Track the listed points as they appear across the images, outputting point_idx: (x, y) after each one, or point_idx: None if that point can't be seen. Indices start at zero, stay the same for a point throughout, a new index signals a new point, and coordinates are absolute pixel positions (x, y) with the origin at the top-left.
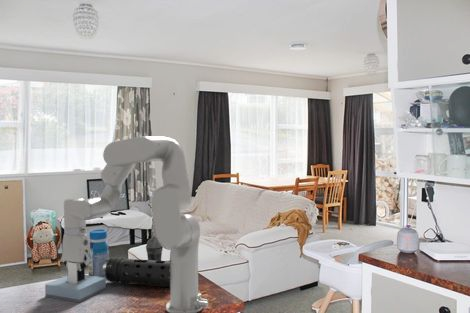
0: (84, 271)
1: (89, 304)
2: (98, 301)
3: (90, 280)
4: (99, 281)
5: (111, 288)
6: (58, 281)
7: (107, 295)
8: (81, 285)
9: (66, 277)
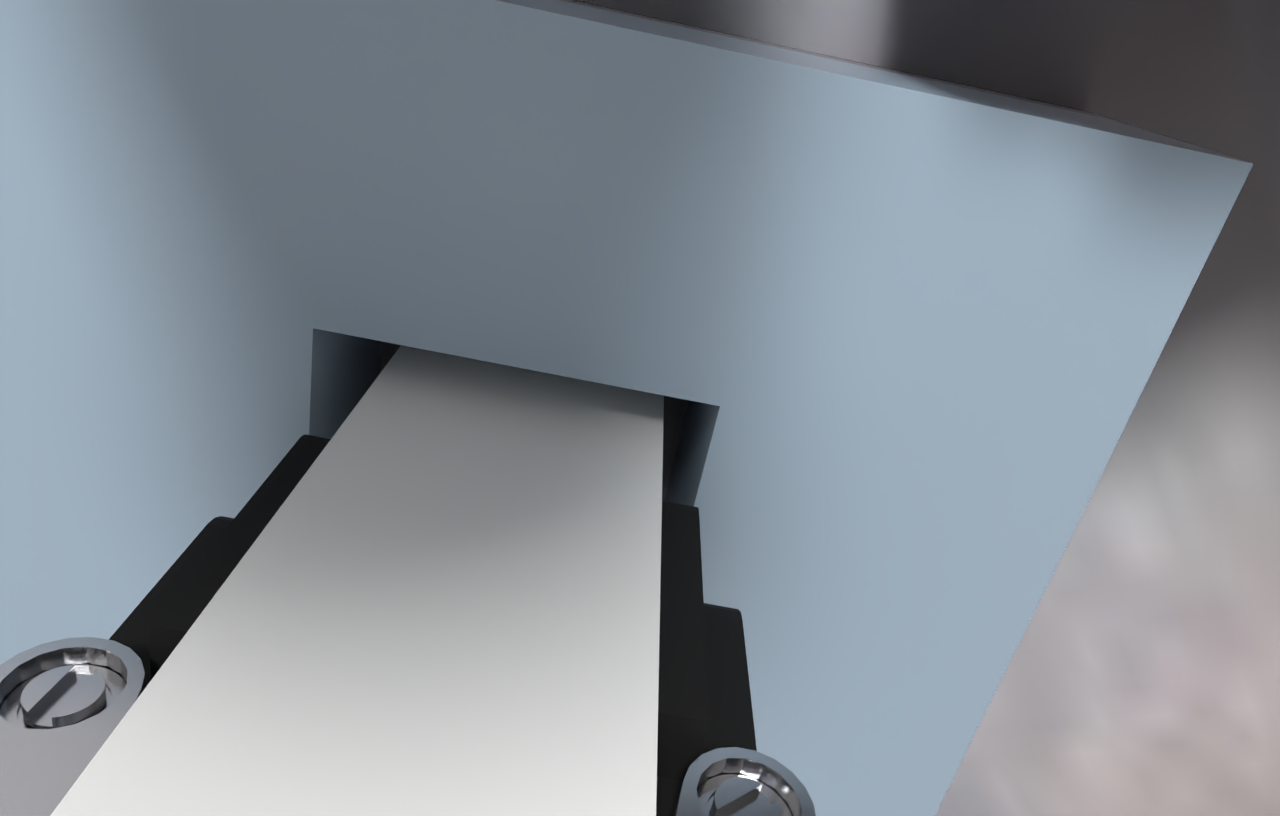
0: (754, 732)
1: (1021, 772)
2: (1127, 671)
3: (855, 453)
4: (1112, 424)
5: (1208, 19)
6: (97, 619)
7: (1218, 429)
8: (799, 753)
9: (19, 330)
